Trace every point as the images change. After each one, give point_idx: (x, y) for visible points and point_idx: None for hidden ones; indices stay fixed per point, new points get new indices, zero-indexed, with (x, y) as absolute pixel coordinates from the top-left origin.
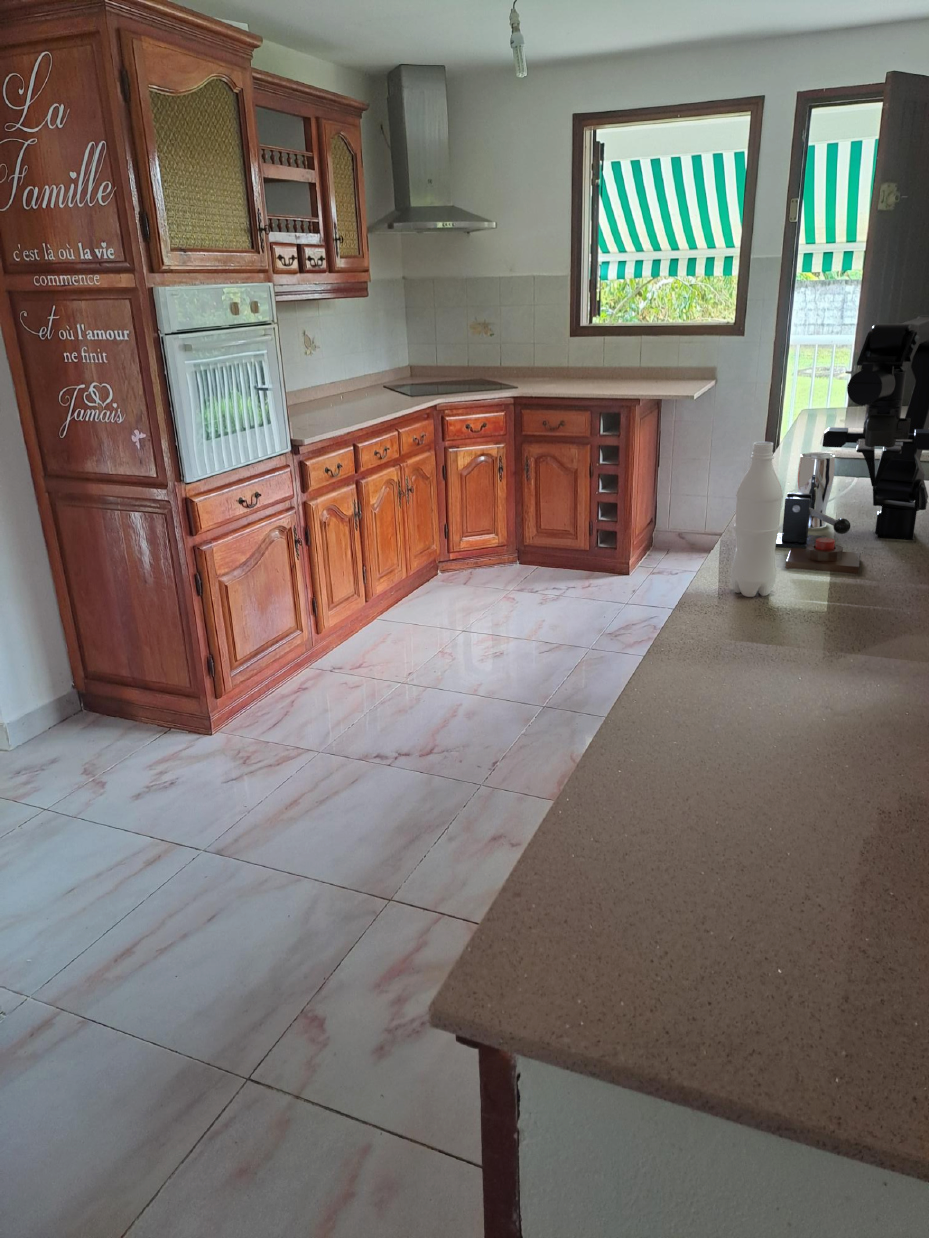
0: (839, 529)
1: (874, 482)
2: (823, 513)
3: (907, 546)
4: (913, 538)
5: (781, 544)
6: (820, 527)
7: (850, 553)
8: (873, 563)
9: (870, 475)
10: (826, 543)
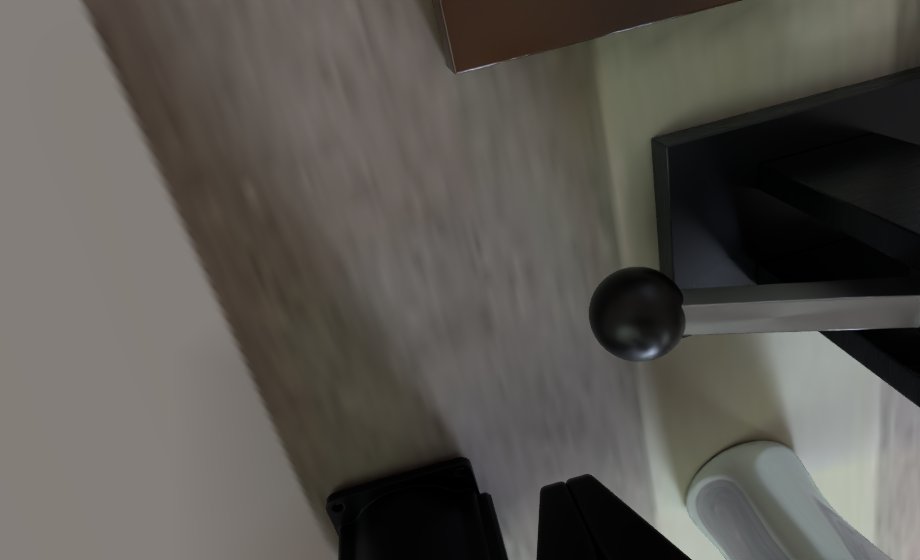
0: (639, 267)
1: (581, 508)
2: (736, 534)
3: (326, 433)
4: (330, 513)
5: (874, 90)
6: (709, 473)
7: (502, 22)
8: (371, 73)
9: (675, 556)
10: None
